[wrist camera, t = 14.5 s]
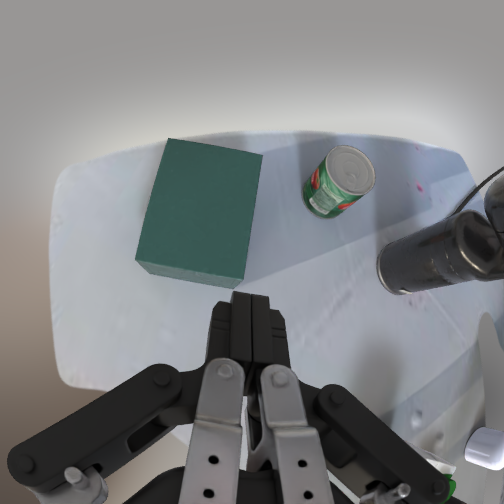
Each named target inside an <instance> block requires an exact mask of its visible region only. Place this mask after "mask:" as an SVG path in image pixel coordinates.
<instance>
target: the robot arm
mask: <svg viewBox="0 0 504 504" xmlns="http://www.w3.org/2000/svg"><path fill="white" fill-rule="evenodd" d="M503 170H504V167H502V168H501V169H499V170H498V171H496V172H495V173H493V174H492V175H491V176H490V177H488V178H487V179H486V180H484V181H483V182H482V183H481V184H480V185H479V186H478V187H477V188H476V189H475V190H474V191H473V192H472V193H471V194H470V195H469V196H468V197H467V198H466V199H465V200H464V202H463V203H462V204H461V205H460V206H459V208H458V209H457V210H456V211H455V212H454V214H453V215H452V216H451V217H449V218H447V219H445V220H443V221H440V222H438V223H436V224H434V225H432V226H430V227H427V228H425V229H423V230H421V231H419V232H416V233H414V234H412V235H410V236H407V237H405V238H403V239H400V240H398V241H396V242H392V243H390V244H388V245H386V246H385V247H384V248H383V249H382V250H381V252H380V254H379V256H378V260H377V272H378V276H379V279H380V281H381V283H382V285H383V286H384V287H385V288H386V289H387V290H388V291H389V292H391V293H393V294H395V295H403V294H413V293H411V292H417V291H422V290H428V289H433V288H438V287H443V286H448V285H453V284H457V283H462V282H467V281H471V280H479V281H484V282H486V281H493V280H500V279H504V175H502V176H501V177H499V178H498V179H497V180H495V181H494V182H493V183H492V184H491V186H490V187H489V188H488V190H487V192H486V195H485V198H484V208H485V212H486V215H487V218H488V219H487V218H486V217H485V216H484V215H482V214H481V213H479V212H477V211H475V210H464V211H461V210H462V209H463V207H464V206H465V205H466V204H467V203H468V201H469V200H470V199H471V198H472V197H473V196H474V195H475V194H476V193H477V192H478V191H479V190H480V189H481V188H482V187H483V186H484V185H485V184H486V183H487V182H488V181H490V180H491V179H492V178H493V177H495V176H496V175H497V174H499V173H500V172H501V171H503ZM460 211H461V212H460ZM243 396H247V407H246V409H245V424H246V435H247V446H248V459H247V465H246V471H245V470H241V469H239V465H240V454H241V444H242V426H241V411H242V401H243ZM191 423H194V424H193V429H192V434H191V439H190V445H189V450H188V455H187V460H186V465H185V466H182V467H177V468H173V469H170V470H168V471H165V472H163V473H161V474H160V475H158V476H157V477H155V478H154V479H153V480H152V481H150V482H149V483H148V484H147V485H145V486H144V487H143V488H142V489H140V490H139V491H138V492H137V493H135V494H134V495H133V496H132V497H130V498H129V499H128V500H127V501H125V502H124V503H123V504H354V503H353V502H352V501H351V500H350V499H349V498H348V497H347V496H346V495H345V494H344V493H343V492H342V491H341V490H340V489H339V488H338V487H337V486H336V485H335V484H333V483H332V482H331V481H329V477H328V473H327V469H328V470H329V471H330V472H331V473H332V474H333V475H334V476H335V477H336V478H337V479H338V480H340V481H341V482H342V483H343V484H344V485H345V486H346V487H347V488H348V489H349V490H351V491H352V492H353V493H354V494H355V495H356V496H357V497H358V498H360V502H359V504H440V503H442V502H444V501H445V500H446V499H447V497H448V496H449V493H450V484H449V481H448V479H447V478H446V476H445V475H443V474H442V473H441V472H440V471H439V470H437V469H436V468H435V467H434V466H433V465H432V464H430V463H429V462H428V461H427V460H426V459H424V458H423V457H422V456H421V455H420V454H419V453H417V452H416V451H415V450H414V449H413V448H412V447H411V446H409V445H408V444H407V443H406V442H405V441H404V440H402V439H401V438H400V437H399V436H398V435H397V434H396V433H395V432H393V431H392V430H391V429H390V428H389V427H388V426H387V425H385V424H384V423H383V422H382V421H381V420H380V419H379V418H378V417H377V416H375V415H374V414H373V413H372V412H371V411H370V410H369V409H368V408H367V407H365V406H364V405H363V404H362V403H361V402H360V401H359V400H358V399H357V398H356V397H354V396H353V395H352V394H351V393H350V392H349V391H348V390H347V389H345V388H344V387H342V386H340V385H336V384H329V385H326V386H324V387H323V388H322V389H319V388H316V387H313V386H310V385H307V384H305V383H303V382H301V381H300V380H299V379H298V378H297V376H296V374H295V373H294V372H293V371H292V370H291V366H290V358H289V350H288V342H287V334H286V327H285V319H284V318H283V316H282V315H281V313H280V312H279V310H273V309H270V304H269V297H268V296H262V295H255V294H251V295H250V294H249V293H243V292H237V291H233V292H232V296H231V300H230V303H228V302H222V301H219V302H218V303H217V304H216V305H215V307H214V308H213V311H212V316H211V321H210V327H209V332H208V340H207V348H206V356H205V363H204V364H203V365H202V366H201V367H200V368H198V369H196V370H193V371H186V372H179V371H178V370H177V369H175V368H174V367H172V366H170V365H167V364H154V365H151V366H149V367H147V368H146V369H144V370H143V371H141V372H139V373H138V374H136V375H135V376H133V377H131V378H130V379H128V380H127V381H125V382H123V383H122V384H120V385H119V386H117V387H115V388H114V389H112V390H111V391H109V392H107V393H106V394H104V395H102V396H101V397H99V398H98V399H96V400H94V401H93V402H91V403H89V404H88V405H86V406H84V407H83V408H81V409H79V410H78V411H76V412H74V413H73V414H71V415H69V416H67V417H66V418H64V419H62V420H61V421H59V422H57V423H55V424H54V425H52V426H50V427H48V428H47V429H45V430H43V431H41V432H40V433H38V434H36V435H34V436H33V437H31V438H30V439H27V440H26V441H24V442H22V443H20V444H18V445H17V446H15V447H14V448H12V449H11V451H10V452H9V454H8V458H7V465H8V469H9V472H10V473H11V475H12V476H13V478H14V479H15V480H16V481H17V482H19V483H20V484H22V485H23V486H25V487H26V488H27V489H28V490H30V491H31V492H33V493H34V494H35V496H36V497H37V499H38V500H39V501H40V503H41V504H102V503H104V502H105V501H106V499H107V497H108V486H107V484H106V482H105V481H104V479H105V478H106V477H108V476H109V475H111V474H112V473H114V472H115V471H117V470H118V469H119V468H121V467H122V466H124V465H125V464H126V463H128V462H129V461H131V460H132V459H134V458H135V457H136V456H138V455H139V454H141V453H142V452H143V451H145V450H146V449H147V448H149V447H150V446H151V445H153V444H154V443H155V442H157V441H158V440H160V439H161V438H162V437H163V436H165V435H166V434H167V433H169V432H170V431H171V430H173V429H174V428H175V427H176V426H177V425H184V424H191Z"/></svg>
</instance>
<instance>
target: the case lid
mask: <svg viewBox="0 0 504 504" xmlns="http://www.w3.org/2000/svg"><path fill="white" fill-rule="evenodd" d="M262 156H263V155H260V154H255V153H250V152H246V151H241V150H236V149H230V148H225V147H220V146H214V145H209V144H203V143H197V142H191V141H184V140H178V139H171V138H168V140H167V143H166V146H165V150H164V153H163V156H162V159H161V162H160V165H159V169H158V172H157V175H156V179H155V182H154V186H153V189H152V193H151V196H150V200H149V204H148V207H147V211H146V215H145V219H144V223H143V227H142V231H141V235H140V239H139V244H138V248H137V253H136V257H135V260H136V261H138V262H143V263H148V264H153V265H158V266H163V267H169V268H174V269H179V270H185V271H190V272H195V273H201V274H206V275H212V276H218V277H223V278H229V279H235V280H241V281H242V280H243V279H244V272H245V266H246V259H247V253H248V246H249V240H250V233H251V227H252V220H253V214H254V208H255V201H256V195H257V188H258V182H259V176H260V169H261V163H262Z"/></svg>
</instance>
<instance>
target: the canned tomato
mask: <svg viewBox="0 0 504 504" xmlns="http://www.w3.org/2000/svg"><path fill="white" fill-rule="evenodd" d="M375 178H376V176H375V170H374V167H373V165H372V163H371V161H370V160H369V159H368V157H367V156H366V155H365V154H364V153H362V152H361V151H360V150H358V149H356V148H354V147H351V146H347V145H341V146H337V147H334V148H333V149H332V150H331V151H330V152H329V153H328V155H327V156H326V157H325V159H324V160H323V161H322V162H321V164H320V165H319V166H318V168H317V169H316V170H315V171H314V173H313V174H312V175H311V177H310V178H309V179H308V180H307V181H306V183H305V184H304V186H303V189H302V199H303V202H304V205H305V206H306V208H307V209H308V210H309V211H310V212H311V213H312V214H313V215H315V216H316V217H319V218H322V219H332V218H335V217H337V216H338V215H339V214H340V213H342V212H343V211H344V210H346V209H347V208H348V207H349V206H351V205H352V204H353V203H355V202H356V201H357V200H359V199H360V198H361V197H362V196H364V195H365V194H366V193H368V192H369V191H370V190H371V189H372V188H373V186H374V184H375Z"/></svg>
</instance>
